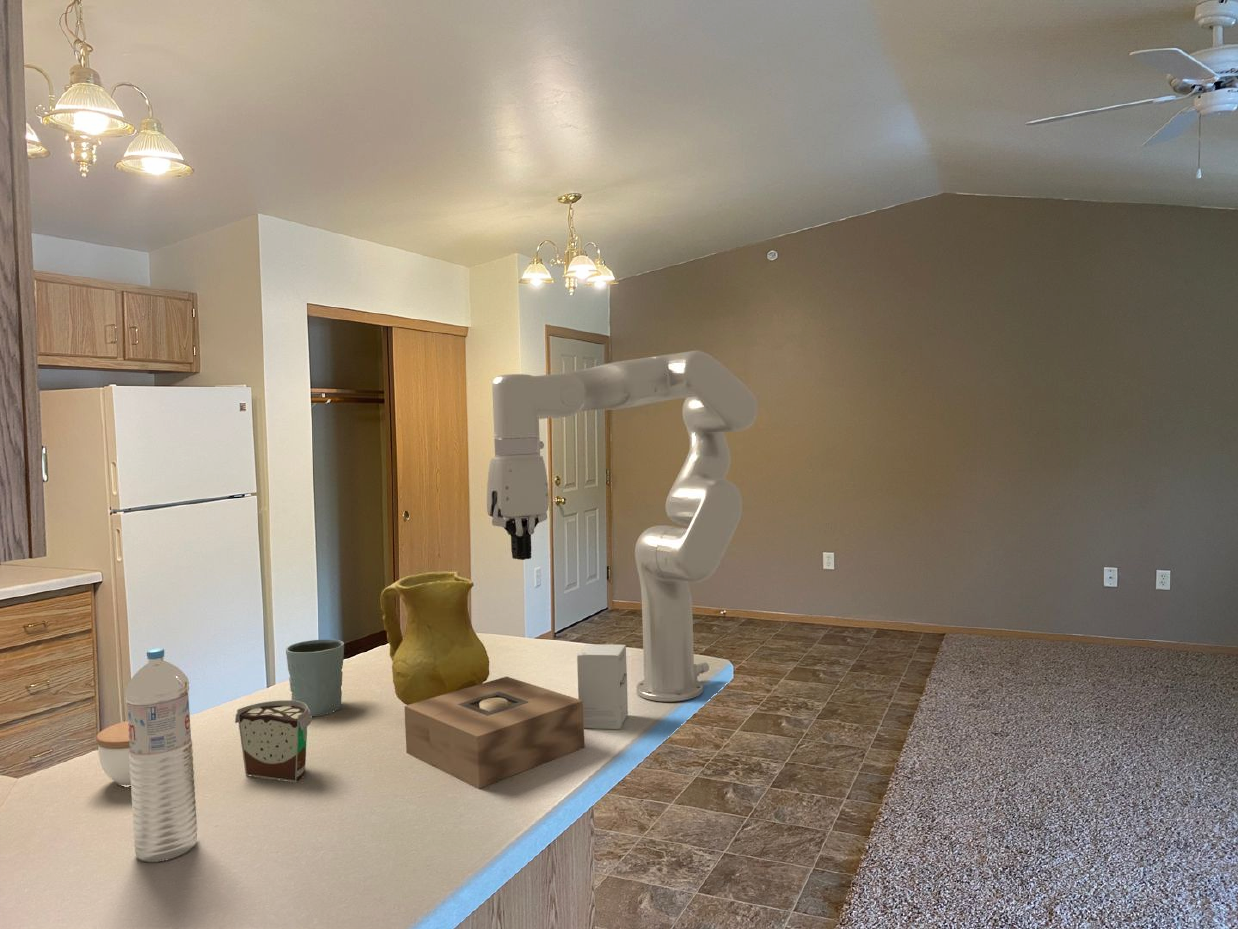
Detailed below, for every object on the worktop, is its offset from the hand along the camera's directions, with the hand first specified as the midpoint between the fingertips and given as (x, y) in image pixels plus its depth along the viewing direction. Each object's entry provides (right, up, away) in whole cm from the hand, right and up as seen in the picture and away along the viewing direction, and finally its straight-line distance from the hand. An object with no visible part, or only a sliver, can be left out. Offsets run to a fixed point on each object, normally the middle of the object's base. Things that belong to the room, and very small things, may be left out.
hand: (521, 558), depth 137 cm
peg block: (-3, -30, -7) cm, 31 cm away
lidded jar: (-56, -32, -14) cm, 66 cm away
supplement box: (+14, -29, +4) cm, 32 cm away
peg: (-3, -29, -7) cm, 30 cm away
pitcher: (-16, -29, +11) cm, 35 cm away
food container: (-34, -31, -13) cm, 48 cm away
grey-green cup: (-40, -30, +16) cm, 52 cm away
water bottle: (-40, -32, -36) cm, 62 cm away
